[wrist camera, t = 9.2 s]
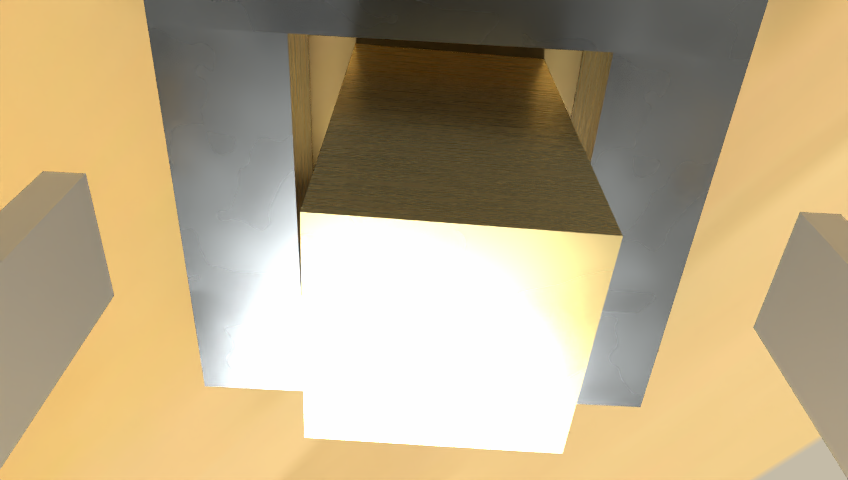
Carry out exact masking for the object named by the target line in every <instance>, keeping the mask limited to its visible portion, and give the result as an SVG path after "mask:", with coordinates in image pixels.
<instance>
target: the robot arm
mask: <svg viewBox="0 0 848 480" xmlns="http://www.w3.org/2000/svg"><path fill="white" fill-rule="evenodd" d="M113 296H114V293H113V289H112V284H111V280H110V276H109V271H108V267H107V263H106V259H105V254H104V250H103V246H102V241H101V237H100V233H99V229H98V224H97V220H96V216H95V211H94V207H93V203H92V199H91V194H90V190H89V186H88V181H87V177H86V174H83V173H65V172H46V171H43V172H42V173H41V174H40V175H39V176H37V177H36V178H35V179H34V180H33V181H32V182H31V183H30V184H29V185H28V186H27V187H26V188H25V189H23V190H22V191H21V192H20V193H19V194H18V195H17V196H16V197H15V198H14V199H13V200H12V201H11V202H9V203H8V204H7V205H6V206H5V207H4V208H3V209H2V210H1V211H0V469H1V467H2V466H3V464H4V463H5V461H6V460H7V458H8V457H9V455H10V453H11V452H12V450H13V449H14V447H15V446H16V444H17V443H18V441H19V440H20V438H21V437H22V435H23V434H24V432H25V431H26V429H27V428H28V426H29V424H30V423H31V421H32V420H33V418H34V417H35V415H36V414H37V412H38V411H39V409H40V408H41V406H42V405H43V403H44V402H45V400H46V399H47V397H48V396H49V394H50V392H51V391H52V389H53V388H54V386H55V385H56V383H57V382H58V380H59V379H60V377H61V376H62V374H63V373H64V371H65V370H66V368H67V367H68V365H69V363H70V362H71V360H72V359H73V357H74V356H75V354H76V353H77V351H78V350H79V348H80V347H81V345H82V344H83V342H84V341H85V339H86V338H87V336H88V334H89V333H90V331H91V330H92V328H93V327H94V325H95V324H96V322H97V321H98V319H99V318H100V316H101V315H102V313H103V312H104V310H105V309H106V307H107V305H108V304H109V302H110V301H111V299H112V298H113ZM753 328H754V329H755V331H756V332H757V334H758V336H759V337H760V339H761V340H762V342H763V344H764V345H765V347H766V348H767V350H768V352H769V353H770V355H771V357H772V358H773V360H774V361H775V363H776V365H777V366H778V368H779V369H780V371H781V373H782V374H783V376H784V377H785V379H786V381H787V382H788V384H789V386H790V387H791V389H792V390H793V392H794V394H795V395H796V397H797V398H798V400H799V402H800V403H801V405H802V406H803V408H804V410H805V411H806V413H807V414H808V416H809V418H810V419H811V421H812V423H813V424H814V426H815V427H816V429H817V431H818V432H819V434H820V435H821V437H822V439H823V440H824V442H825V443H826V445H827V447H828V448H829V450H830V451H831V453H832V455H833V456H834V458H835V459H836V461H837V463H838V464H839V466H840V468H841V469H842V471H843V472H844V474H845V476H846V477H847V479H848V221H847V220H846V219H845V218H844V217H843V216H842V215H841V214H827V213H808V212H800V213H799V216H798V218H797V221H796V223H795V226H794V228H793V231H792V233H791V236H790V238H789V241H788V243H787V246H786V248H785V251H784V253H783V256H782V258H781V260H780V263H779V265H778V268H777V270H776V273H775V275H774V278H773V280H772V283H771V285H770V288H769V290H768V293H767V295H766V298H765V300H764V303H763V305H762V308H761V310H760V313H759V315H758V317H757V320H756V322H755V325H754V327H753Z"/></svg>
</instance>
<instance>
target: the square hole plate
mask: <svg viewBox="0 0 848 480" xmlns="http://www.w3.org/2000/svg"><path fill="white" fill-rule="evenodd" d="M767 3H768V0H144V6H145V12H146V18H147V25H148V31H149V37H150V44H151V50H152V56H153V62H154V69H155V75H156V81H157V88H158V94H159V100H160V106H161V113H162V119H163V125H164V132H165V138H166V144H167V151H168V157H169V163H170V169H171V176H172V182H173V188H174V195H175V201H176V207H177V214H178V220H179V226H180V232H181V239H182V245H183V251H184V258H185V264H186V270H187V276H188V283H189V289H190V295H191V302H192V308H193V314H194V321H195V327H196V333H197V339H198V346H199V352H200V358H201V365H202V371H203V377H204V383H205V386H210V387H231V388H252V389H273V390H294V391H304V387H303V335H302V283H301V231H300V211H301V208H302V205H303V202H304V199H305V196H306V193H307V190H308V187H309V184H310V180H311V177H312V174H313V158H312V129H311V101H310V72H309V44H308V35H323V36H341V37H358V38H375V39H392V40H409V41H426V42H443V43H460V44H477V45H495V46H512V47H529V48H546V49H563V50H580V51H583V56H582V62H581V67H580V73H579V78H578V84H577V89H576V95H575V100H574V106H573V111H572V117H571V121H572V123H573V125H574V128H575V130H576V132H577V134H578V137H579V139H580V141H581V143H582V146H583V148H584V150H585V152H586V155H587V157H588V159H589V161H590V163H591V166H592V168H593V170H594V172H595V175H596V177H597V179H598V181H599V184H600V186H601V188H602V190H603V193H604V195H605V197H606V199H607V201H608V204H609V206H610V208H611V210H612V213H613V215H614V217H615V219H616V222H617V224H618V226H619V228H620V230H621V233H622V235H623V238H622V241H621V245H620V249H619V252H618V256H617V259H616V263H615V267H614V270H613V274H612V277H611V281H610V284H609V288H608V292H607V295H606V299H605V302H604V306H603V310H602V313H601V317H600V320H599V324H598V328H597V331H596V335H595V338H594V342H593V346H592V349H591V353H590V356H589V360H588V364H587V367H586V371H585V374H584V378H583V381H582V385H581V389H580V392H579V396H578V399H577V403H576V404H589V405H610V406H631V407H640V406H641V403H642V400H643V397H644V394H645V391H646V387H647V384H648V381H649V378H650V375H651V371H652V368H653V365H654V362H655V359H656V356H657V352H658V349H659V346H660V343H661V340H662V336H663V333H664V330H665V327H666V324H667V321H668V317H669V314H670V311H671V308H672V305H673V302H674V298H675V295H676V292H677V289H678V286H679V282H680V279H681V276H682V273H683V270H684V267H685V263H686V260H687V257H688V254H689V251H690V247H691V244H692V241H693V238H694V235H695V232H696V228H697V225H698V222H699V219H700V216H701V212H702V209H703V206H704V203H705V200H706V197H707V193H708V190H709V187H710V184H711V181H712V178H713V174H714V171H715V168H716V165H717V162H718V158H719V155H720V152H721V149H722V146H723V143H724V139H725V136H726V133H727V130H728V127H729V123H730V120H731V117H732V114H733V111H734V108H735V104H736V101H737V98H738V95H739V92H740V88H741V85H742V82H743V79H744V76H745V73H746V69H747V66H748V63H749V60H750V57H751V54H752V50H753V47H754V44H755V41H756V38H757V34H758V31H759V28H760V25H761V22H762V19H763V15H764V12H765V9H766V6H767Z"/></svg>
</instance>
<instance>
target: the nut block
mask: <svg viewBox="0 0 848 480" xmlns="http://www.w3.org/2000/svg"><path fill="white" fill-rule="evenodd" d="M300 231H301V283H302V335H303V387H304V437H308V438H323V439H339V440H355V441H371V442H387V443H402V444H418V445H434V446H450V447H466V448H481V449H497V450H513V451H529V452H545V453H560V454H562V453H563V450H564V446H565V443H566V439H567V435H568V432H569V428H570V425H571V421H572V417H573V414H574V410H575V407H576V403H577V399H578V396H579V392H580V389H581V385H582V381H583V378H584V374H585V371H586V367H587V364H588V360H589V356H590V353H591V349H592V346H593V342H594V338H595V335H596V331H597V328H598V324H599V320H600V317H601V313H602V310H603V306H604V302H605V299H606V295H607V292H608V288H609V284H610V281H611V277H612V274H613V270H614V267H615V263H616V259H617V256H618V252H619V249H620V245H621V241H622V238H623V235H622V233H621V230H620V228H619V226H618V224H617V222H616V219H615V217H614V215H613V213H612V210H611V208H610V206H609V204H608V201H607V199H606V197H605V195H604V193H603V190H602V188H601V186H600V184H599V181H598V179H597V177H596V175H595V172H594V170H593V168H592V166H591V163H590V161H589V159H588V157H587V155H586V152H585V150H584V148H583V146H582V143H581V141H580V139H579V137H578V134H577V132H576V130H575V128H574V125H573V123H572V121H571V119H570V117H569V114H568V112H567V110H566V108H565V105H564V103H563V101H562V99H561V96H560V94H559V92H558V90H557V87H556V85H555V83H554V81H553V79H552V76H551V74H550V72H549V70H548V67H547V65H546V63H545V61H544V59H536V58H523V57H511V56H499V55H487V54H475V53H463V52H451V51H439V50H427V49H415V48H403V47H391V46H379V45H367V44H355V47H354V50H353V53H352V56H351V59H350V62H349V65H348V68H347V71H346V74H345V77H344V80H343V83H342V86H341V89H340V92H339V95H338V98H337V102H336V105H335V108H334V111H333V114H332V117H331V120H330V123H329V126H328V129H327V132H326V135H325V138H324V141H323V144H322V147H321V150H320V153H319V156H318V159H317V162H316V165H315V168H314V171H313V174H312V177H311V180H310V184H309V187H308V190H307V193H306V196H305V199H304V202H303V205H302V208H301V211H300Z"/></svg>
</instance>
